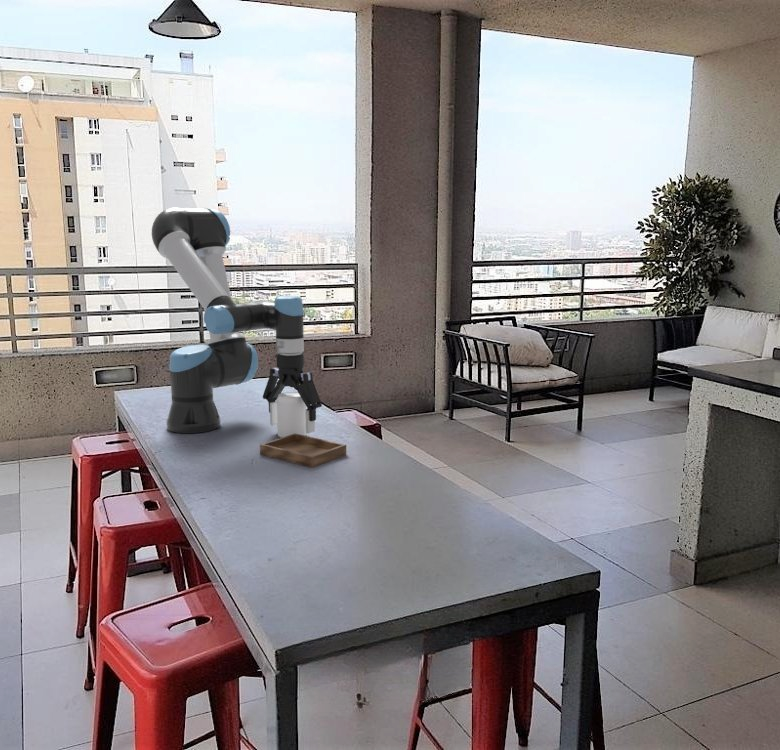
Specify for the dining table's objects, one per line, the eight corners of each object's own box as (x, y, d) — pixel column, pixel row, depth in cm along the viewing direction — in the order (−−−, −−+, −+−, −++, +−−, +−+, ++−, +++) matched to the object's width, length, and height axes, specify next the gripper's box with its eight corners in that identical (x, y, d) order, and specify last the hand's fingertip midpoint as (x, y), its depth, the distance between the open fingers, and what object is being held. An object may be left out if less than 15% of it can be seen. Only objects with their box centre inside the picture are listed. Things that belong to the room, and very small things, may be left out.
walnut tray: (260, 454, 191) (259, 444, 190) (295, 442, 201) (295, 433, 200) (312, 467, 180) (311, 457, 180) (346, 454, 190) (346, 444, 190)
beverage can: (309, 432, 210) (308, 391, 208) (303, 440, 203) (302, 398, 200) (281, 432, 211) (280, 391, 209) (274, 440, 203) (273, 397, 201)
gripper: (248, 350, 207) (251, 424, 211) (314, 359, 192) (316, 438, 196) (267, 347, 213) (270, 418, 217) (333, 355, 198) (335, 432, 202)
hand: (292, 428), depth 206 cm, fingers open, 13 cm apart
